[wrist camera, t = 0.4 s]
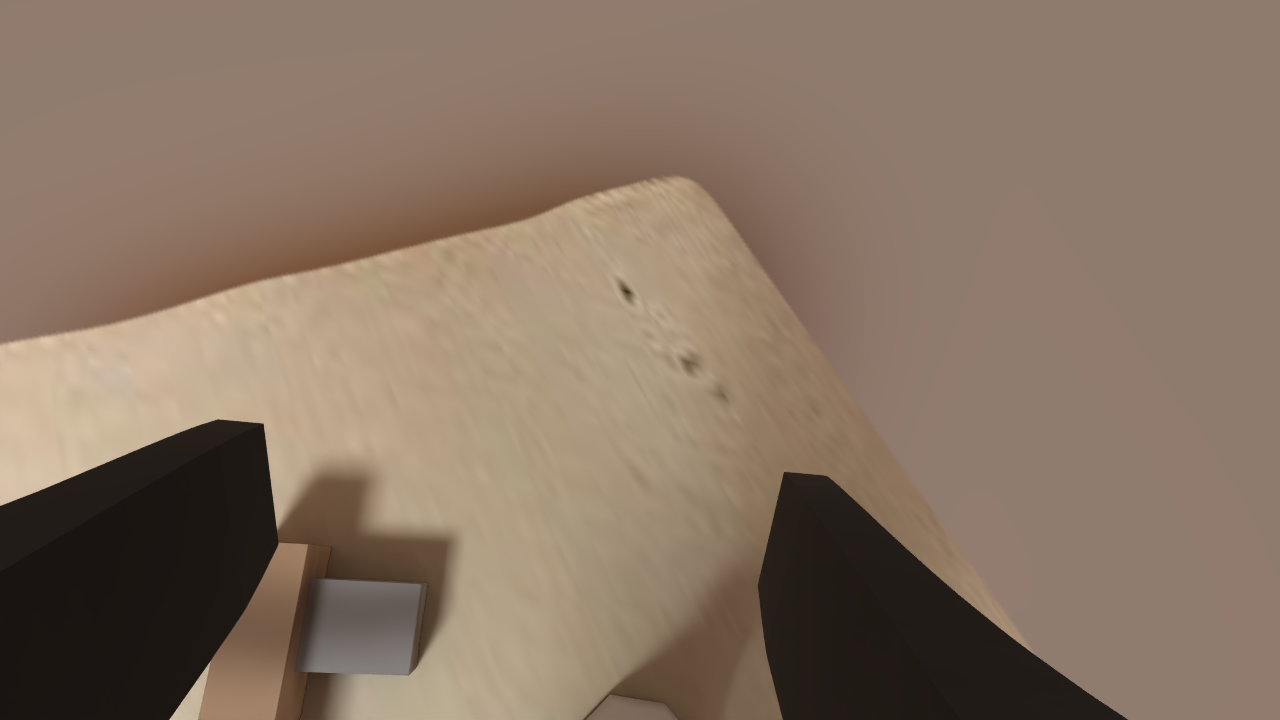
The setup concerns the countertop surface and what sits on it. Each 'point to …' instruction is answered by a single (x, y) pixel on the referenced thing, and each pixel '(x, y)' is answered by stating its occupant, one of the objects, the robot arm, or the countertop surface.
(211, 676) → the spice rail
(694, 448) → the countertop surface
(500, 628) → the countertop surface
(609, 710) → the flask
